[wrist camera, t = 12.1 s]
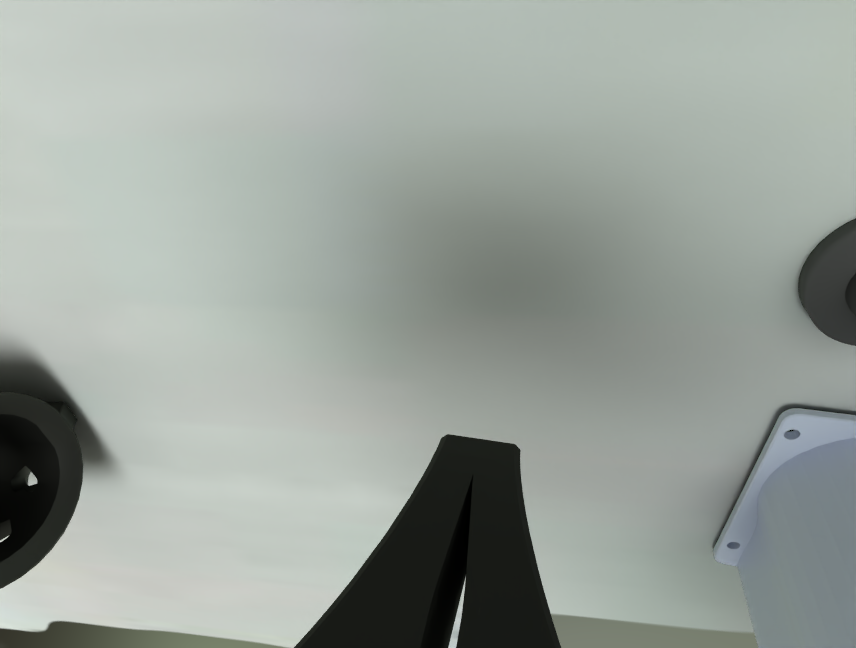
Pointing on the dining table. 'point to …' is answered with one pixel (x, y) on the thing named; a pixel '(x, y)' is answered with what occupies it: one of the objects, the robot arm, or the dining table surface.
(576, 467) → the dining table surface
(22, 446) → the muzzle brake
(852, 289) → the gray flanged cylinder
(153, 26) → the dining table surface
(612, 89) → the dining table surface
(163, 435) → the dining table surface
